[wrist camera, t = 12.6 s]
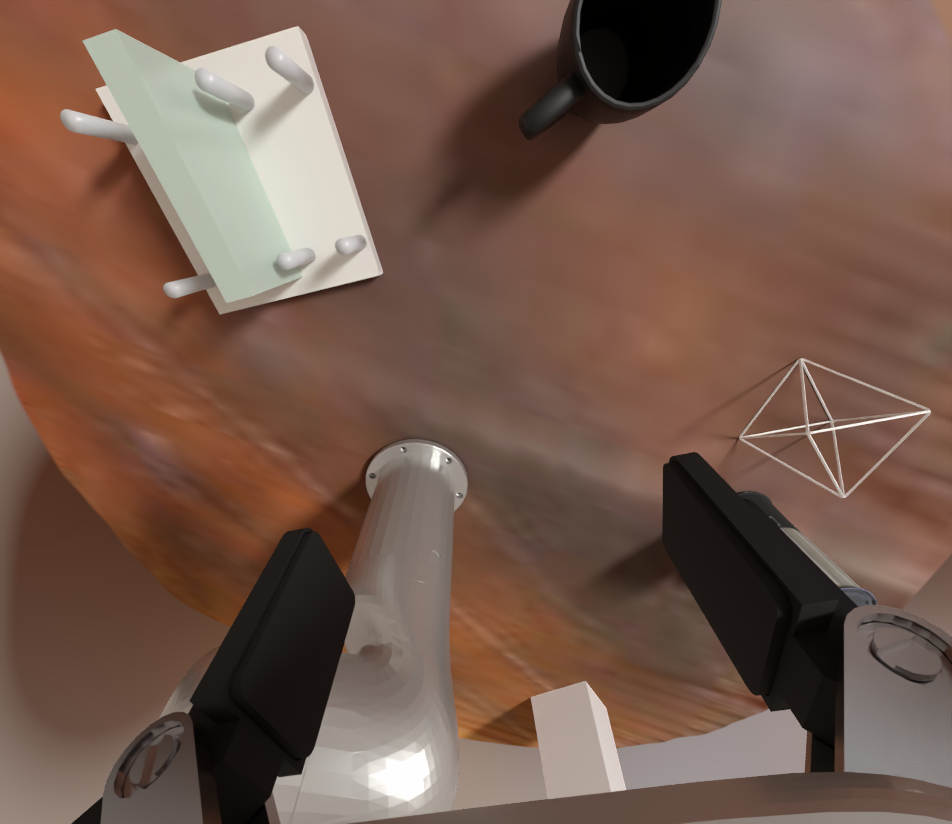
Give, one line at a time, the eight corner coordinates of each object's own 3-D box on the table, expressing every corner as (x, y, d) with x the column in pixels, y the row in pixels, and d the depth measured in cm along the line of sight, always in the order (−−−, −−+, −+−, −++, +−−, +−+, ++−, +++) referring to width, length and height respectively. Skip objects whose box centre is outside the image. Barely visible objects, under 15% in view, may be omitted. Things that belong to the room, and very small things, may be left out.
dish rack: (383, 272, 35) (367, 284, 30) (228, 310, 37) (184, 329, 31) (306, 35, 27) (263, -12, 22) (112, 94, 29) (24, 65, 23)
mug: (480, 93, 29) (486, 45, 21) (620, -33, 26) (693, -148, 18) (534, 192, 32) (558, 185, 24) (664, 91, 29) (743, 42, 21)
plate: (192, 90, 28) (82, 40, 20) (217, 82, 27) (115, 28, 19) (282, 282, 34) (226, 302, 26) (302, 276, 34) (252, 296, 26)
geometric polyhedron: (866, 381, 42) (960, 419, 34) (799, 457, 47) (868, 507, 39) (776, 348, 40) (853, 381, 32) (715, 431, 45) (770, 478, 37)
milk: (606, 708, 76) (666, 922, 53) (554, 722, 78) (590, 933, 55) (585, 680, 71) (642, 905, 48) (530, 697, 73) (559, 918, 50)
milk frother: (755, 478, 48) (863, 576, 35) (800, 540, 54) (907, 645, 41) (658, 533, 53) (722, 639, 40) (709, 585, 58) (779, 693, 45)
